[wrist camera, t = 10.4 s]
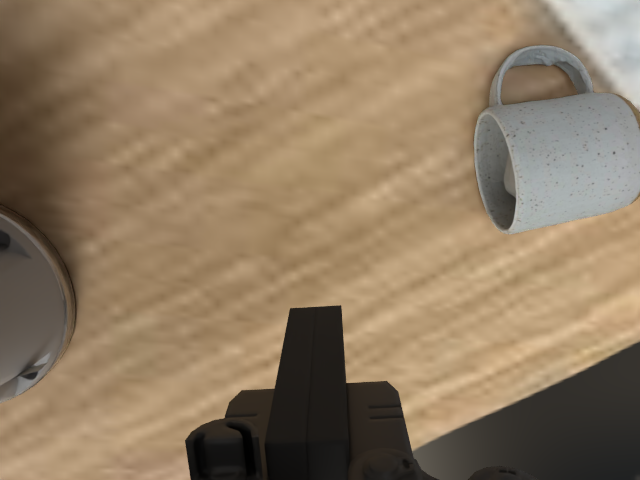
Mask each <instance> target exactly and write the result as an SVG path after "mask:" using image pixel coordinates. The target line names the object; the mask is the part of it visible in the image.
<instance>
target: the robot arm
mask: <svg viewBox="0 0 640 480" xmlns="http://www.w3.org/2000/svg"><path fill="white" fill-rule="evenodd" d="M74 323H75V298H74V291H73V287H72V283H71V280H70V277H69V274H68V272H67V270H66V267H65V265H64V263H63V261H62V260H61V258H60V256H59V254H58V253H57V251H56V250H55V249H54V247H53V246H52V244H51V243H50V242H49V241H48V240H47V238H46V237H45V236H44V235H43V234H42V233H41V232H40V231H39V230H38V229H37V228H36V227H34V226H33V225H32V224H31V223H30V222H29V221H27V220H26V219H24V218H23V217H22V216H20V215H19V214H17V213H15V212H14V211H12V210H10V209H8V208H6V207H4V206H2V205H0V403H2V402H5V401H7V400H10V399H12V398H14V397H16V396H18V395H20V394H22V393H24V392H25V391H27V390H28V389H30V388H31V387H33V386H34V385H35V384H36V383H38V382H39V381H40V380H41V379H42V378H43V377H44V376H45V375H46V374H47V373H48V372H49V371H50V370H51V369H52V368H53V367H54V366H55V365H56V364H57V363H58V361H59V360H60V359H61V357H62V356H63V354H64V352H65V351H66V349H67V347H68V344H69V342H70V340H71V336H72V333H73V329H74ZM185 443H186V450H187V456H188V463H189V470H190V477H191V480H438V479H436V478H434V477H432V476H429V475H428V474H427V473H425V472H424V471H422V470H421V468H420V466H419V464H418V462H417V460H416V459H414V458H413V454H412V450H411V445H410V441H409V437H408V432H407V428H406V424H405V420H404V416H403V411H402V407H401V402H400V398H399V394H398V391H397V390H396V389H395V388H394V387H393V386H391V385H390V384H389V383H388V382H387V381H380V382H361V383H346V372H345V357H344V341H343V326H342V310H341V306H324V307H307V308H290V312H289V317H288V322H287V327H286V333H285V338H284V343H283V348H282V354H281V359H280V364H279V369H278V375H277V380H276V385H275V389H261V390H243V391H241V392H240V393H239V394H238V395H237V396H236V397H235V398H233V399H232V400H231V401H230V402H229V405H228V408H227V411H226V414H225V418H224V419H219V420H214V421H211V422H209V423H206V424H203V425H201V426H200V427H198V428H197V429H195V430H194V431H192V432H191V433H190V435H189V436H188V437H187V439H186V440H185ZM468 480H537V479H536V478H535V477H533V476H532V475H530V474H528V473H526V472H523V471H521V470H519V469H515V468H509V467H502V466H497V467H486V468H484V469H481V470H479V471H476V472H475V473H474V474H473V475H472V476H471V477H470V478H469V479H468Z"/></svg>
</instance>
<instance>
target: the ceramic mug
mask: <svg viewBox="0 0 640 480" xmlns="http://www.w3.org/2000/svg"><path fill="white" fill-rule="evenodd" d="M531 64H542V65H545V66H549V65H552V64H554V65H556V66H558V67H560V68H561V69H562V70H564V71H565V72H566V73H567V74H568V76H569V77H570V79H571V81H572V82H573V83H574V86H575V88H576V90H577V93H578V95H572V96H566V97H562V98H555V99H549V100H538V101H529V102H523V103H517V104H508V105H503V104H502V102H501V98H500V93H501V86H502V81H503V77H504V74H505V72H506V71H507V70H508V69H511V68H512V67H514V66H521V65H531ZM474 152H475V169H476V175H477V182H478V187H479V190H480V194H481V197H482V201H483V204H484V206H485V209H486V212H487V214H488V216H489V217H490V219H491V221H492V223H493V224H494V225H495V226H496V227H497V229H498V230H499V231H501V232H503V233H505V234H514V233H519V232H523V231H527V230H532V229H537V228H541V227H546V226H551V225H556V224H560V223H564V222H569V221H573V220H577V219H582V218H588V217H593V216H597V215H601V214H605V213H610V212H613V211H615V210H618V209H620V208H623V207H625V206H628V205H629V204H631V203H633V202H634V201H636V200H637V199H638V197H639V196H640V112H639V111H638V110H637V109H636V108H635V106H634V105H633V104H632V103H631V102H630V101H629V100H627V99H625V98H624V97H622V96H620V95H617V94H611V93H594V91H593V85H592V81H591V78H590V76H589V74H588V71H587V69H586V68H585V67H584V65H583V64H582V63H581V61H580V60H579V59H578V58H577V57H576V56H574V55H573V54H571V53H570V52H568V51H566V50H564V49H562V48H559V47H555V46H548V45H536V46H529V47H525V48H522V49H519V50H516V51H515V52H514V53H512V54H511V55H510V56H508V57H507V58H506V60H505V61H504V62H503V63H502V65H501V66H500V68H499V70H498V71H497V73H496V75H495V77H494V79H493V82H492V85H491V89H490V100H489V107H488V108H486V109H485V110H483V111H482V112H481V114H480V115H479V117H478V120H477V125H476V128H475V135H474Z"/></svg>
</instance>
